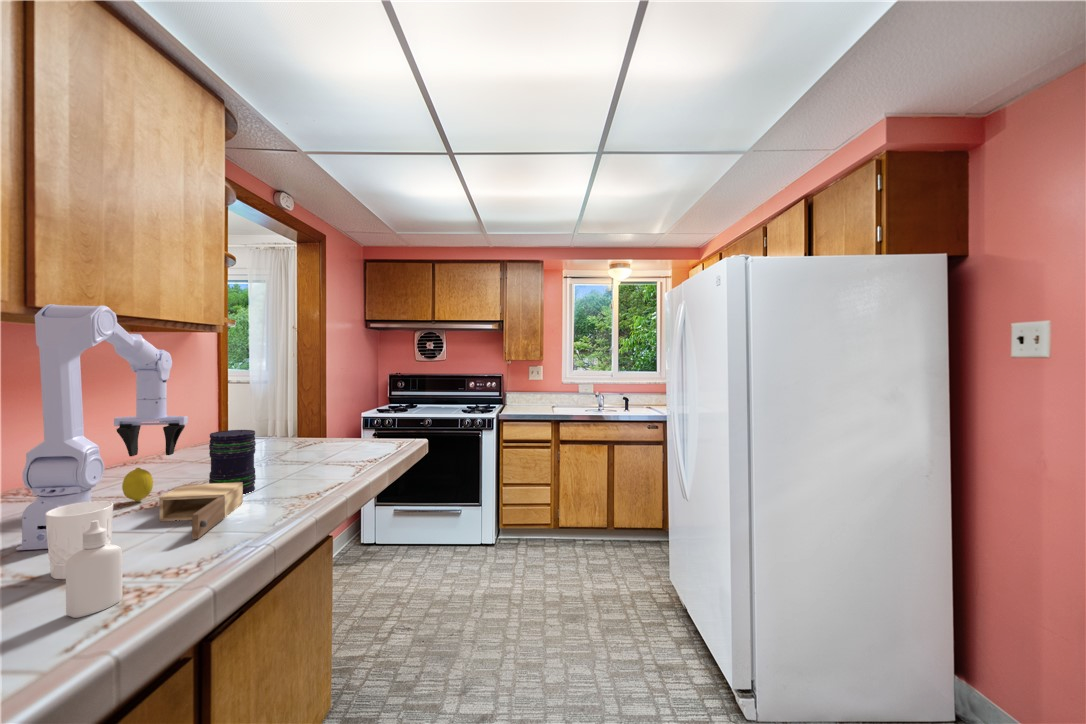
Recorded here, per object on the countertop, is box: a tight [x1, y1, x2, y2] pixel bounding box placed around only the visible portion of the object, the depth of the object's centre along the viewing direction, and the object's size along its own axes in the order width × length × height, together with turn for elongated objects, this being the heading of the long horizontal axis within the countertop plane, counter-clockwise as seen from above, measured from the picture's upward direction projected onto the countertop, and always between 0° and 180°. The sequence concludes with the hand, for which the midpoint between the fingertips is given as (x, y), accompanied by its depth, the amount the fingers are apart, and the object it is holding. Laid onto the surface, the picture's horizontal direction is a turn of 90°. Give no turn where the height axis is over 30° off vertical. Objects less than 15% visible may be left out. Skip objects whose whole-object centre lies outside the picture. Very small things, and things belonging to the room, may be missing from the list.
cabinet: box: [158, 482, 244, 522], centre depth 106 cm, size 10×12×5 cm
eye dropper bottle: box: [65, 520, 123, 619], centre depth 66 cm, size 4×6×12 cm
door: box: [191, 496, 226, 540], centre depth 97 cm, size 2×12×5 cm, turn 13°
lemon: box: [121, 467, 154, 503], centre depth 113 cm, size 6×6×8 cm
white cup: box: [45, 500, 114, 580], centre depth 78 cm, size 8×8×10 cm
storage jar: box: [208, 429, 257, 495], centre depth 122 cm, size 10×10×15 cm
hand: (151, 455), depth 117 cm, fingers open, 7 cm apart
